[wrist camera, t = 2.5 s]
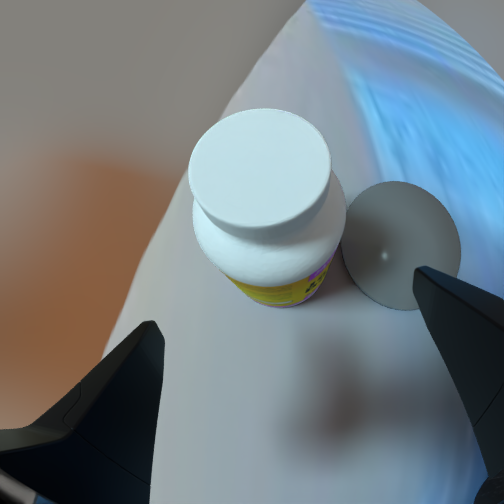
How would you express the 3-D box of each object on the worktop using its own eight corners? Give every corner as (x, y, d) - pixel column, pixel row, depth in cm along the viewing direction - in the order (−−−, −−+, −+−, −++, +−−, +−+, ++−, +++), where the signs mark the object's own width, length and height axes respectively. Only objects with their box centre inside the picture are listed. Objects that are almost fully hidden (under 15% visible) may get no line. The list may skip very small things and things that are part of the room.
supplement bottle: (311, 321, 20) (335, 293, 7) (222, 292, 21) (127, 230, 9) (336, 232, 21) (373, 109, 9) (252, 209, 23) (205, 82, 10)
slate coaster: (455, 198, 20) (458, 195, 20) (453, 317, 18) (457, 316, 17) (346, 174, 22) (347, 170, 22) (331, 299, 20) (332, 298, 19)
